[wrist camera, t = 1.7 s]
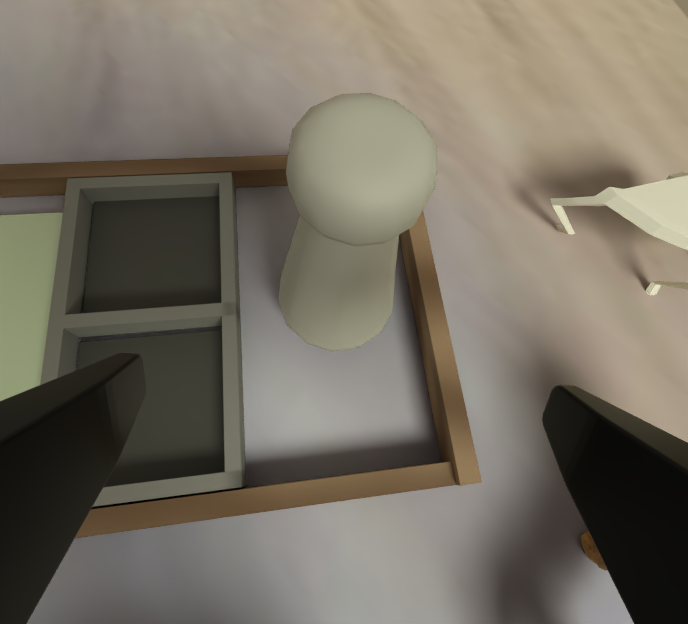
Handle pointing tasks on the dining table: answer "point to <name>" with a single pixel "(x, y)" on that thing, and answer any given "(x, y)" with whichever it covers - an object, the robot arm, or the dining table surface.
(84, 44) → the dining table surface
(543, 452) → the dining table surface
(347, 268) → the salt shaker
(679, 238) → the origami figure
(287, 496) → the wooden frame
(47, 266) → the pad
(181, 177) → the trap pits
